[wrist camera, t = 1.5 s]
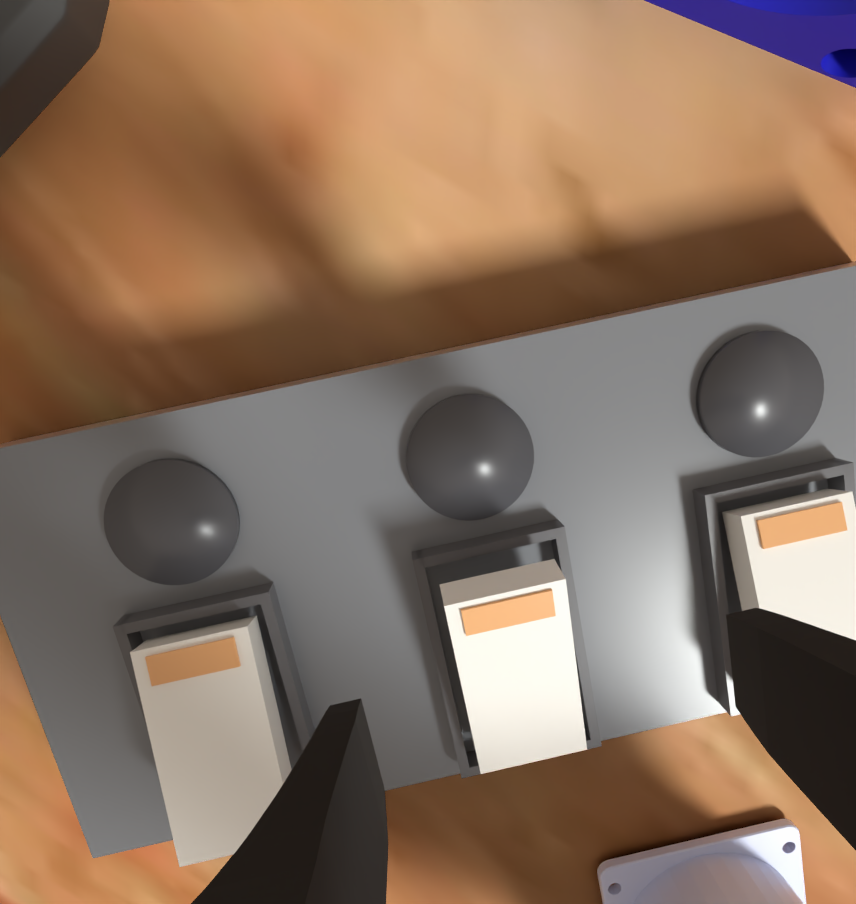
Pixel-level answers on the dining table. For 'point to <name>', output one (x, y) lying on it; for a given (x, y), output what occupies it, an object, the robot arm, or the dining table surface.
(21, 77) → the usb drive
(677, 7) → the blue pipe cradle
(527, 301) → the dining table surface
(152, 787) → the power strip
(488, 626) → the rocker middle
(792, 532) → the rocker
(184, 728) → the rocker
